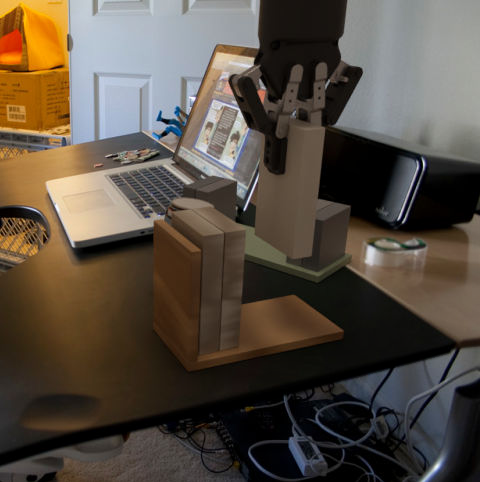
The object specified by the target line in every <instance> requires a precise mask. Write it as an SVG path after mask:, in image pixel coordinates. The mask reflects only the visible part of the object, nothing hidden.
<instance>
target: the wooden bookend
mask: <svg viewBox="0 0 480 482" xmlns="http://www.w3.org/2000/svg"><path fill="white" fill-rule="evenodd" d="M237 223H238V222H236V221H235V222H234V221H233V220H231V219H230V218H228V217H226V216H225V215H223V214H222V213H220V212H219V211H217V210H216V209H214V208H213V207H211V206H210V207H203V208H196V209H192V210H191V209H189V210H182V211H175V212H172V219H171V226H170V225H169V224H168V223H166V222H165V221H164V218H163V219H162V218H160V219H154V220H153V275H152V276H153V279H152V281H153V283H152V284H153V285H152V287H153V289H152V291H153V292H152V293H153V294H152V296H153V297H152V299H153V300H152V301H153V302H152V303H153V307H152V320H153V321H152V329H153V331H154V332H155V333H156V334H157V336H158V337H159V338H160V339H161V341H162V342H163V343H164V344H165V345H166V347H167V348H168V349H169V350H170V351H171V353H172V354H173V355H174V356H175V358H176V359H177V360H178V361H179V363H180V364H181V365H182V366H183V368H184V369H185V370H186V371H187V372H188V373H189V372H194V371H200V370H204V369H209V368H213V367H218V366H223V365H227V364H232V363H237V362H242V361H246V360H251V359H255V358H260V357H265V356H269V355H273V354H278V353H284V352H287V351H292V350H298V349H302V348H306V347H312V346H316V345H321V344H325V343H330V342H334V341H338V340H343V339H344V333H345V331H344V330H343V329H342V328H341V327H339V326H338V325H337V324H336V323H334V322H332V321H331V320H329V319H328V318H327V317H326V316H324V315H323V314H322V313H320V312H319V311H317V310H316V309H315V308H313V307H312V306H310V305H309V304H308V303H306V302H305V301H304V300H303V299H301V298H299V297H298V296H297V295H295V294H290V295H285V296H279V297H274V298H269V299H264V300H258V301H254V302H247V303H243V304H242V302H243V301H242V300H243V289H244V288H243V287H244V272H245V271H244V270H245V260H244V257H245V241H246V229H245V228H243V227H242V226H240V225H239V224H240V223H238V224H237Z"/></svg>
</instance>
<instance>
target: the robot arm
mask: <svg viewBox="0 0 480 482" xmlns="http://www.w3.org/2000/svg"><path fill="white" fill-rule="evenodd" d="M347 7H348V0H259V8H258V9H259V11H258V23H257V39H258V44H259V45H258V51H257V53H256V55H255V57H254V59H253V65H252V66H251V67H248V68H247V69H245V70H244V71H243V72H241V73H239V74H238V73H232V74H230V76H229V77H228V79H227V80H228V81H227V83H228V85H229V88H230V90H231V92H232V95H233V97H234V99H235V102H236V104H237V106H238V108H239V111H240V113H241V115H242V118H243V120H244V122H245V125H246V128H248V129H249V130H253V131H256V132H259V134H261V133H263V134H264V135H265V146H264V160H263V162H264V166H265V167H267V170H268V171H269V172H270V173H272V174H275V175H283V174H284V173H285V167H286V155H287V143H288V138H285V136H286V134H287V131H288V125H289V119H290V117H291V115H292V114H294V112H295V118H296V119H299V120H302V121H305V122H309V123H312V124H315V125H318V126H322V127H325V128H327V127H328V126H330V127H333V126H335V125H336V124H337V123H338V122H339V120H340V118H341V116H342V114H343V113H344V110H345V108H346V107H347V104H348V103H349V101H350V99H351V97H352V95H353V94H354V91H355V90H356V88H357V86H358V84H359V82H360V80H361V79H362V76H363V74H364V70H363V68H362V67H361V66H356V65H350V63H347V62H345V61H344V60H342V53H341V50H340V46H339V41H340V39H341V38H342V37H343V36H344V34H345V27H346V18H347V17H346V16H347V9H348V8H347ZM260 81H261V83H262V85H263V86H264V88H265V92H264V98H263V101H262V99H261V96H260V94H259V91H260V90H261V84H260Z"/></svg>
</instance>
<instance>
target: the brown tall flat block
mask: <svg viewBox="0 0 480 482" xmlns="http://www.w3.org/2000/svg"><path fill="white" fill-rule="evenodd" d="M325 134H326V127H322V126H318V125H315V124H312V123H309V122H305V121H302V120H299V119H296V117H292V116H290V119H289V125H288V131H287V134H286V136H285V138H288V143H287V155H286V167H285V173H284V174H283V175H275V174H272V173H270V172H269V171H268V170H267V167H265V166H264V162H263V160H264V146H265V135H264V134H263V133H260V136H261V137H260V148H259V161H258V162H259V163H258V177H257V190H256V191H257V192H256V205H255V206H256V207H255V219H254V220H255V221H254V228H255V233H254V234H255V235H256V236H257V237H259V238H260V239H262V240H263V241H265V242H267V243H268V244H270V245H271V246H273V247H274V248H276V249H277V250H279V251H280V252H282V253H283V254H285V255H287V256H288V257H290V258H291V259H298V258H304V257H310V256H312V247H313V237H314V228H315V219H316V210H317V200H318V199H319V189H320V182H321V181H320V180H321V172H322V171H321V170H322V164H323V153H324V144H325Z"/></svg>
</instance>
